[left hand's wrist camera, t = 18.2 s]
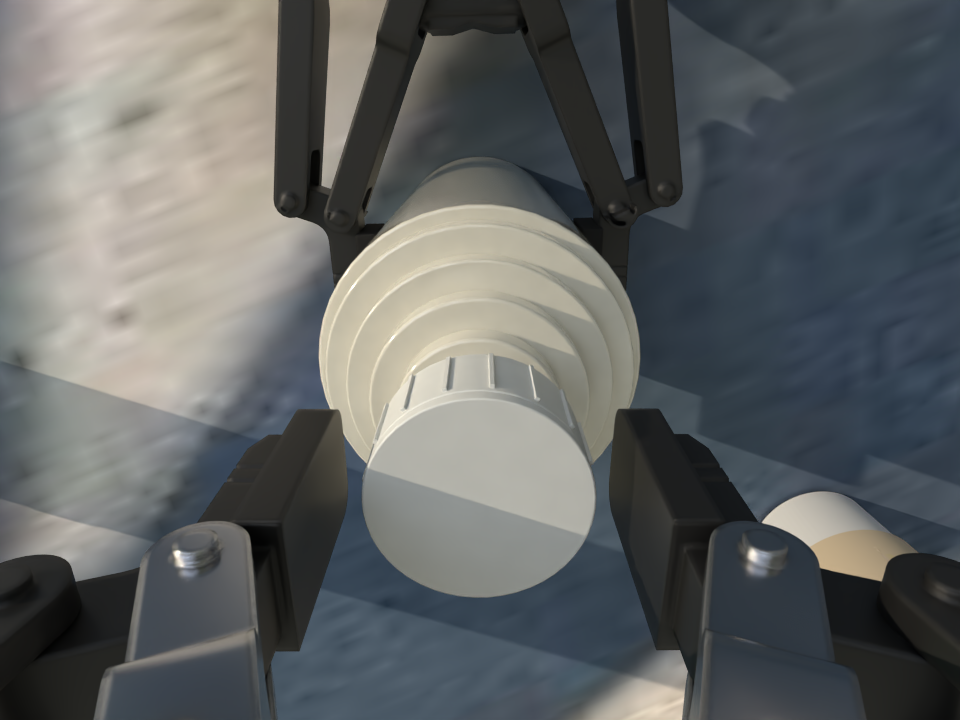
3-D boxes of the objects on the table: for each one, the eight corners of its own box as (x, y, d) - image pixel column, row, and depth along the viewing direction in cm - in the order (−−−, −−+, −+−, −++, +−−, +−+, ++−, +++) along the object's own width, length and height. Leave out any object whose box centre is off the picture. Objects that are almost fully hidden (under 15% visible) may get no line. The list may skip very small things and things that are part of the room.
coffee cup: (916, 532, 38) (1169, 777, 24) (798, 620, 41) (964, 887, 27) (823, 447, 36) (1041, 662, 22) (704, 545, 38) (831, 794, 24)
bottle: (576, 174, 30) (790, 308, 9) (539, 328, 33) (640, 693, 12) (413, 141, 30) (255, 204, 9) (390, 300, 33) (228, 632, 12)
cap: (362, 360, 11) (340, 407, 10) (577, 342, 11) (595, 386, 9) (392, 537, 13) (378, 607, 11) (583, 523, 13) (600, 591, 11)
